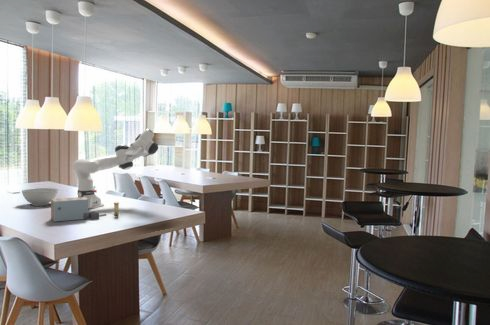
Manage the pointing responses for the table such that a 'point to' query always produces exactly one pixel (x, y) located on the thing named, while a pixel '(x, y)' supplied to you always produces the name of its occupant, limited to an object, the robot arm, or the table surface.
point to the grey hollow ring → (91, 215)
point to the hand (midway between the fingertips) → (127, 160)
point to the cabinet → (61, 200)
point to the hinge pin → (116, 208)
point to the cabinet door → (70, 209)
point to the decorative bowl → (39, 195)
